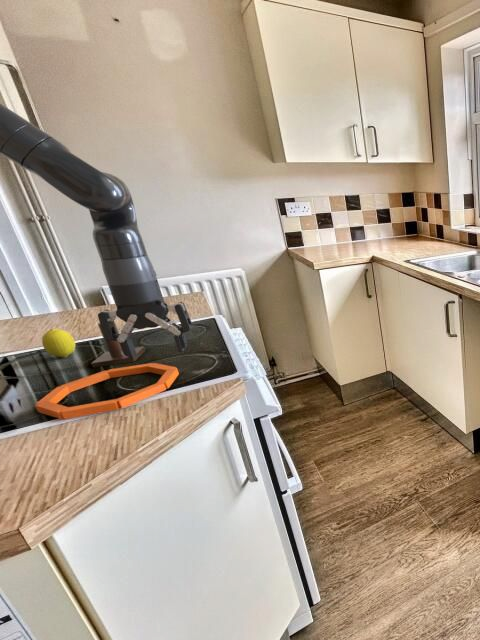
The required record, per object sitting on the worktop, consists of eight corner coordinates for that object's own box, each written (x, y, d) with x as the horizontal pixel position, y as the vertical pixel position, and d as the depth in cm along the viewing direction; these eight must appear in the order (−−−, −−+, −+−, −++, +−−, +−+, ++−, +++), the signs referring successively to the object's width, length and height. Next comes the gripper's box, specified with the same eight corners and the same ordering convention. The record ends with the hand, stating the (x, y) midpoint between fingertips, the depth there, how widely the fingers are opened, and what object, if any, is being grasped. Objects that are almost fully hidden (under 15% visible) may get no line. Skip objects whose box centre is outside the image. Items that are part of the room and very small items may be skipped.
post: (93, 368, 101) (76, 329, 97) (107, 357, 107) (92, 319, 104) (134, 362, 103) (119, 324, 100) (146, 351, 110) (132, 315, 107)
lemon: (65, 362, 105) (52, 332, 102) (43, 362, 105) (29, 332, 102) (86, 353, 110) (74, 324, 107) (65, 354, 110) (52, 325, 107)
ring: (18, 428, 76) (14, 420, 75) (75, 382, 94) (72, 375, 93) (159, 403, 84) (156, 395, 83) (186, 364, 101) (184, 357, 101)
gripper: (77, 287, 78) (108, 366, 84) (170, 279, 83) (193, 354, 89) (95, 279, 85) (123, 353, 90) (180, 272, 90) (201, 342, 96)
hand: (158, 353), depth 90 cm, fingers open, 8 cm apart
